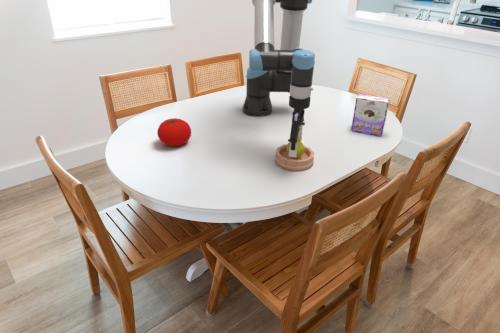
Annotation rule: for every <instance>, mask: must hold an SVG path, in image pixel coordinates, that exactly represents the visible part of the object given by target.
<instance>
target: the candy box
mask: <svg viewBox="0 0 500 333" xmlns="http://www.w3.org/2000/svg"><path fill="white" fill-rule="evenodd" d="M390 99H391V98H388V97H381V96H380V97H379V96H373V95H368V94H362V93H358V95H357V96H356V98H355V103H354V105H355V106H354V110H353V117H352V123H351V127H350V128H351V129H350V132H353V133H361V134H366V135H370V136H377V137H382V136H383V133H384V129H385V125H386V120H387V115H388V109H389V105H390Z"/></svg>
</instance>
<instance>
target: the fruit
mask: <svg viewBox="0 0 500 333" xmlns="http://www.w3.org/2000/svg"><path fill="white" fill-rule="evenodd" d="M300 129H301V128H300ZM300 129H299V131H300ZM297 141H298V143H297V154H296V158H298V157H300V156H302V155H303V153H304V149H305V148H304V146H305V145H304V143H303V142H302V140H301V141H300V138H299V136H298V139H297ZM289 147H290V142H289V141H288V143H287V146H286V150H287V153H288V155H289ZM293 158H295V157H293Z"/></svg>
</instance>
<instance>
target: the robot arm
mask: <svg viewBox="0 0 500 333" xmlns="http://www.w3.org/2000/svg"><path fill="white" fill-rule="evenodd" d="M251 2H252V5H253V7H254V44H253V45H254V47H253V49H250V50H249V53H248V54H249V58H248V60H249V61H248V64H249V65H248V68H247V69H246V95H245V96H246V97H245V99H244V102H243V105H242V112H243V114H245V115H248V116H250V117H267V116H269V115H271V114H273V104H272V101H271V100H272V99H271V97H270V96H271V95H270V93H289V97H288V99H289V100H288V105H289V107H290V108H291V109H293V111H292V115H291V116H292V117H291V127H290V134H289V138H288V139H287V142H288V143H289V142H290V147H289V157H295V158H296V154H297V143H298V141H297V139H298V136H299V138H300V141H301V142H302V140H303V139H302V138H303V129H304V128H303V127H304V126H305V125H306V123H305V122H304V121H305V119H304V118H305V110H306V109H309V108H310V105H311V96H312V91H314V88H313V87H312V85H313V77H314V76H313V75H314V71H315V70H314V68H315V65H316V64H315V63H316V60H315V53H314V52H313V51H311V50H308V49H303V48H301V47H300V43H301V34H302V27H303V26H302V25H303V16H304V12H305V11H307V9H308V4H309V5H310V4H312V2H313V0H251ZM276 3H279V7H280V9H281V10H282V22H281V33H280V34H281V37H280V49H275V22H274V21H275V19H274V18H275V14H274V13H275V12H274V10H275V9H274V7H275V4H276ZM300 128H301V129H300ZM299 129H300V131H299Z"/></svg>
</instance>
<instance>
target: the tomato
mask: <svg viewBox="0 0 500 333" xmlns="http://www.w3.org/2000/svg"><path fill="white" fill-rule="evenodd" d="M156 133H157V137H158V139H159V140H160V142H161V143H162V144H163V145H166V146H169V147H175V146H176V147H177V146H181V145H184V144H186V142H188V141H189V139H190V138H191V136H192V129H191V125H190V124H189V123H188V121H186V120H183V119H181V118H176V117H175V118H167V119H165V120H163V121H162V122H161V123H160V124H159V126H158V128H157V132H156Z"/></svg>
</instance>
